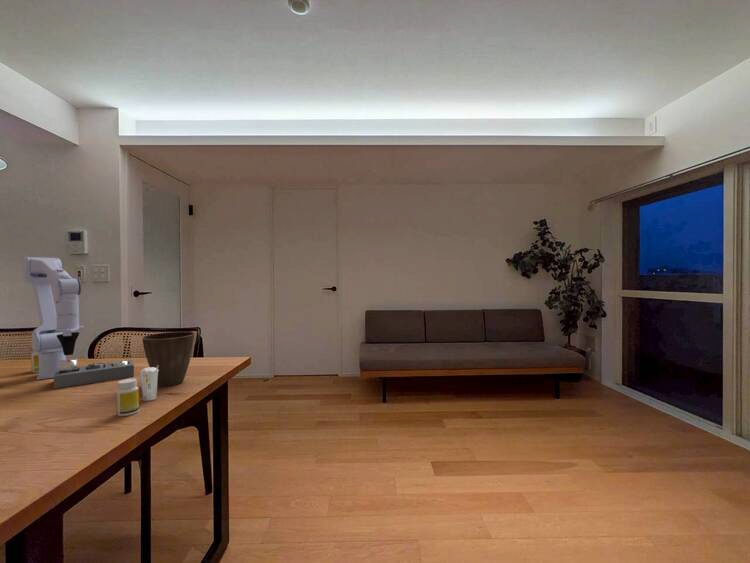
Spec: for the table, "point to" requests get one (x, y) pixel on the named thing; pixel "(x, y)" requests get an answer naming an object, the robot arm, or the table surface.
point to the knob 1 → (68, 365)
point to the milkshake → (149, 383)
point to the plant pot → (169, 355)
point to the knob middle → (95, 366)
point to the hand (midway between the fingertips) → (68, 354)
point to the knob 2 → (120, 362)
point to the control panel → (93, 374)
